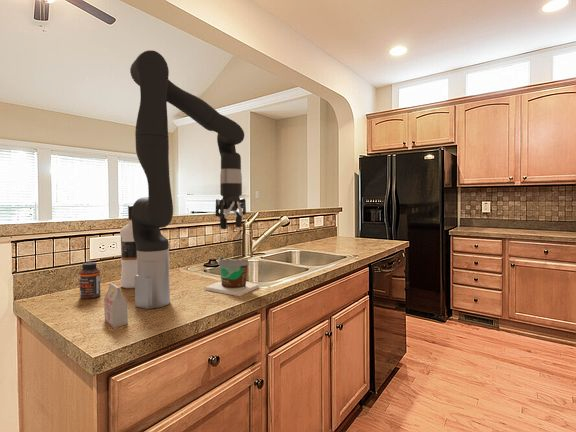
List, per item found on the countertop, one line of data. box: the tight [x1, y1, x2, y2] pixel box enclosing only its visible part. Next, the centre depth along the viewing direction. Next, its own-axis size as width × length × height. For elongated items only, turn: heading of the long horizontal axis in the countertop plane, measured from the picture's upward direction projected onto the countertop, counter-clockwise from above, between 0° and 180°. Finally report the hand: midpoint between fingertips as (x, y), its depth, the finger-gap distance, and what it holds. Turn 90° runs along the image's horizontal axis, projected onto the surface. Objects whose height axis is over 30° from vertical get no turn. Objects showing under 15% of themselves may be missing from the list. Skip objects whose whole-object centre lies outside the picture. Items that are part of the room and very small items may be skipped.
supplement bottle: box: [78, 261, 101, 300], centre depth 113 cm, size 6×6×11 cm
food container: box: [217, 255, 250, 288], centre depth 121 cm, size 12×6×10 cm, turn 61°
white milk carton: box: [103, 282, 129, 328], centre depth 91 cm, size 4×7×10 cm, turn 44°
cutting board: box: [204, 281, 260, 297], centre depth 122 cm, size 12×15×1 cm
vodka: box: [119, 204, 137, 289], centre depth 126 cm, size 9×9×30 cm
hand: (231, 228), depth 121 cm, fingers open, 8 cm apart
